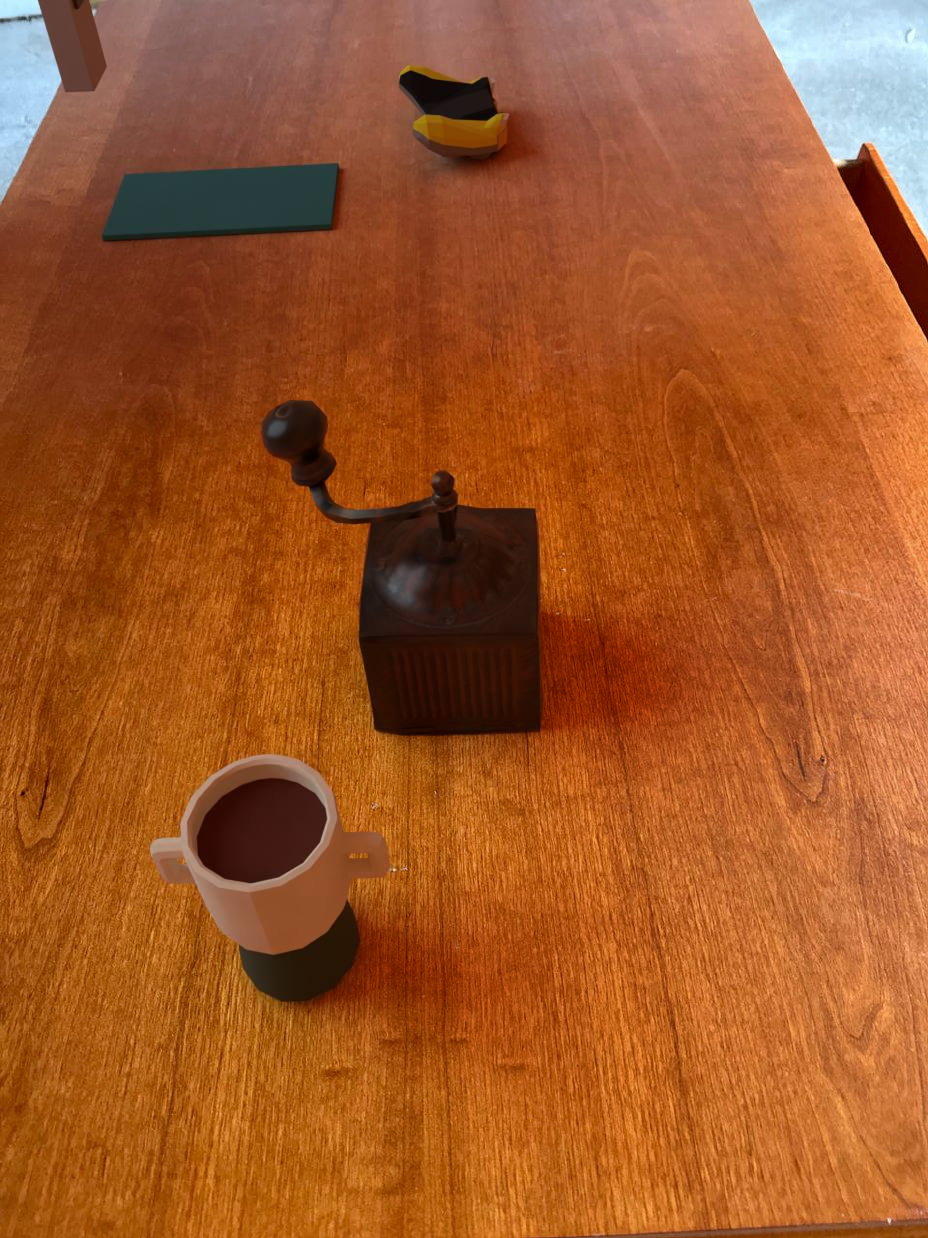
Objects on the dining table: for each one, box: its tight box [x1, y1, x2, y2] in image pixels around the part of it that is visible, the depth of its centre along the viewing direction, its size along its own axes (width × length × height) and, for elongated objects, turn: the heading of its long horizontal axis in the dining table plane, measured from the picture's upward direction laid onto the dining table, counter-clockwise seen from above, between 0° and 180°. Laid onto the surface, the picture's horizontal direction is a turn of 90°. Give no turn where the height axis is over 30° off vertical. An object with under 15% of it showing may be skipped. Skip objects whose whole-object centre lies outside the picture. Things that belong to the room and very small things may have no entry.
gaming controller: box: [398, 64, 510, 160], centre depth 118 cm, size 15×6×10 cm
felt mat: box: [101, 162, 340, 242], centre depth 113 cm, size 22×12×1 cm, turn 91°
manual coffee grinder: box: [260, 399, 544, 736], centre depth 66 cm, size 16×11×18 cm
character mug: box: [149, 753, 391, 1003], centre depth 55 cm, size 11×7×13 cm, turn 90°
